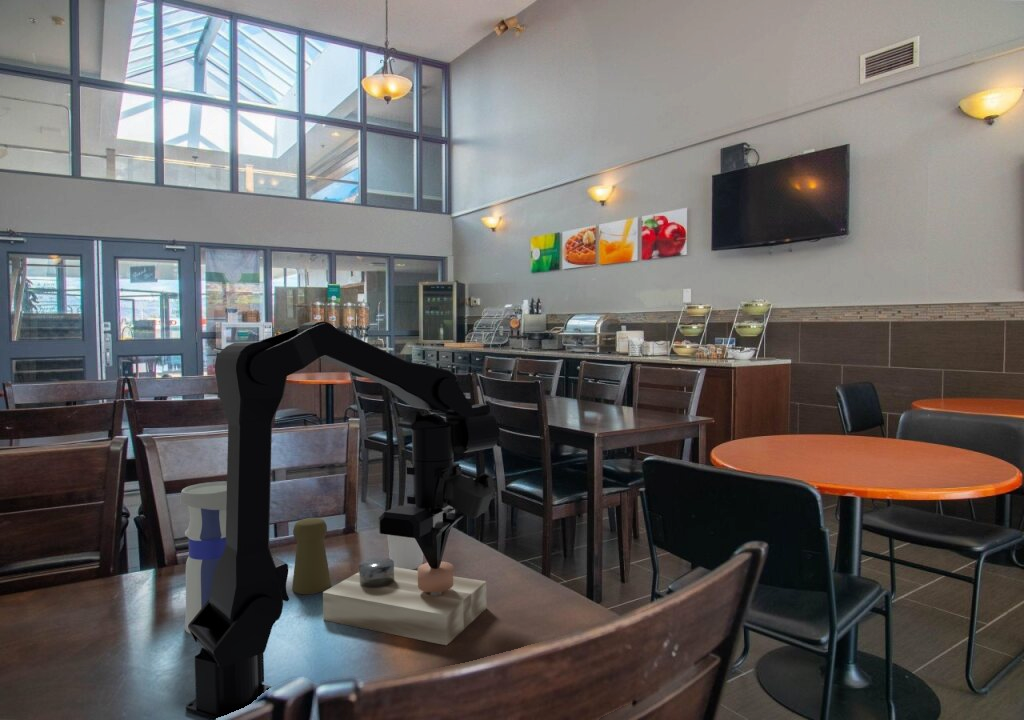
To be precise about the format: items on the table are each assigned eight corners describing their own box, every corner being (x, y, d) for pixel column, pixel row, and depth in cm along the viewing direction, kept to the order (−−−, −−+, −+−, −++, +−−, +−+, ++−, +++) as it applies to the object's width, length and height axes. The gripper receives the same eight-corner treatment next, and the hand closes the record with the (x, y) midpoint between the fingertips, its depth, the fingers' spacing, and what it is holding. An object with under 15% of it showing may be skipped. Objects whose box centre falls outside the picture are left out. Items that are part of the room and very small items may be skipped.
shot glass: (382, 561, 112) (381, 523, 112) (419, 555, 115) (419, 517, 115) (392, 574, 106) (391, 533, 105) (431, 567, 109) (430, 528, 108)
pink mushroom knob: (442, 621, 85) (442, 576, 85) (411, 615, 87) (410, 571, 87) (460, 607, 90) (459, 563, 89) (430, 601, 92) (429, 559, 91)
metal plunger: (381, 615, 89) (380, 571, 89) (353, 609, 91) (352, 567, 91) (401, 601, 94) (400, 560, 93) (373, 596, 96) (372, 556, 95)
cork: (319, 595, 97) (317, 525, 97) (284, 592, 99) (282, 524, 98) (337, 580, 103) (336, 514, 103) (304, 578, 104) (302, 513, 104)
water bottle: (249, 604, 94) (244, 440, 93) (247, 629, 86) (241, 449, 85) (188, 614, 91) (182, 444, 90) (180, 640, 83) (173, 454, 82)
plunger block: (446, 645, 81) (445, 615, 81) (323, 619, 89) (322, 592, 89) (486, 608, 92) (486, 581, 92) (373, 588, 100) (373, 563, 100)
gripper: (451, 476, 76) (453, 602, 76) (512, 450, 93) (513, 553, 93) (375, 469, 80) (377, 589, 81) (446, 446, 97) (448, 544, 98)
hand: (435, 567), depth 88 cm, fingers closed, pressing on pink mushroom knob
